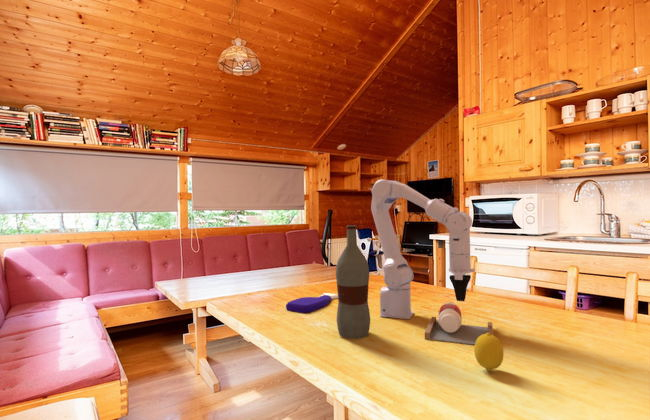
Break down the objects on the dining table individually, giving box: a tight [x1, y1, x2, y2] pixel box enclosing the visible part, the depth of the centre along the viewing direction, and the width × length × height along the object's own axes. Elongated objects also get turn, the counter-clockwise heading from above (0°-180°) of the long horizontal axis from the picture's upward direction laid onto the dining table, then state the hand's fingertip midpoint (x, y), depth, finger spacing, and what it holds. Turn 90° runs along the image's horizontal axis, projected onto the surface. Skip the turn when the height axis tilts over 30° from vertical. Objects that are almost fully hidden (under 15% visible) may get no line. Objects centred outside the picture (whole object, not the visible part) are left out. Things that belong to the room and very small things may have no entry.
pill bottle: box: [437, 302, 463, 332], centre depth 102 cm, size 6×6×11 cm
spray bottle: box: [285, 292, 338, 314], centre depth 134 cm, size 3×11×24 cm
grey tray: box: [424, 316, 494, 346], centre depth 99 cm, size 16×15×2 cm
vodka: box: [335, 224, 371, 340], centre depth 101 cm, size 9×9×30 cm
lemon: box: [473, 333, 504, 372], centre depth 76 cm, size 6×6×8 cm
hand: (460, 300), depth 105 cm, fingers closed
